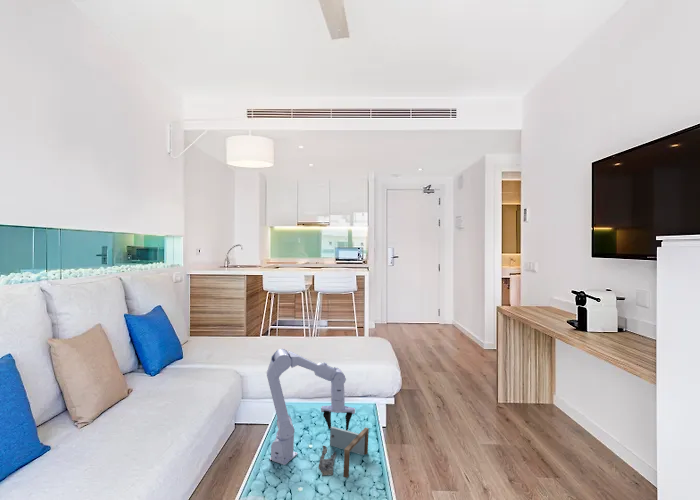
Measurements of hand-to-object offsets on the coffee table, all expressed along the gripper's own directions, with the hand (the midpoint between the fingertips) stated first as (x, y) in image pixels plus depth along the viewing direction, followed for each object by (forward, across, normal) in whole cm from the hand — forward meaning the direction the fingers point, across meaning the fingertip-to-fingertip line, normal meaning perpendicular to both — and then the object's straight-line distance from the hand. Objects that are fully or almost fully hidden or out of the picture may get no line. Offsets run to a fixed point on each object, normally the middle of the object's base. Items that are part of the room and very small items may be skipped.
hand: (338, 428), depth 174 cm
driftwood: (+10, +2, +9) cm, 14 cm away
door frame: (+10, -9, +9) cm, 16 cm away
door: (+9, -3, 0) cm, 10 cm away
